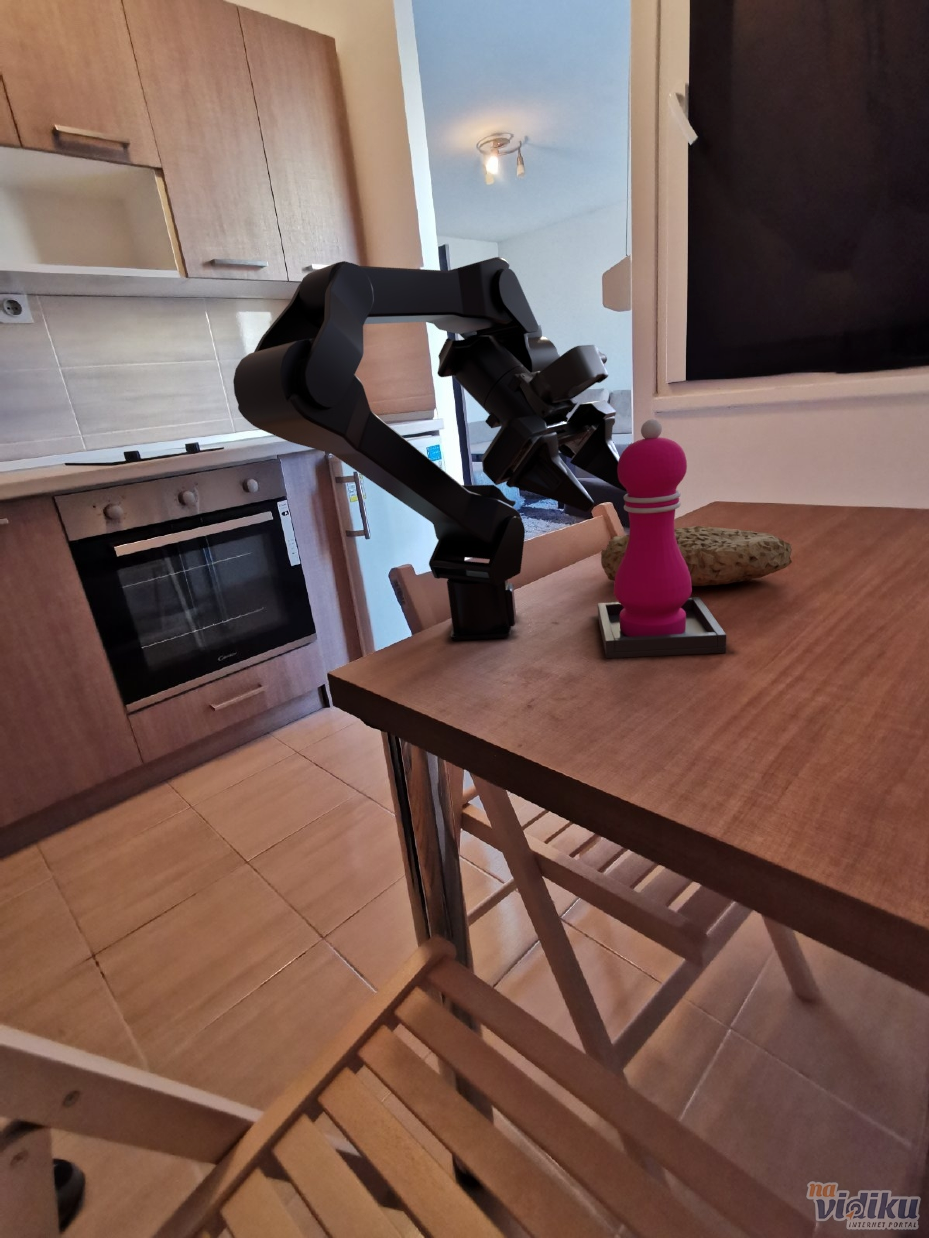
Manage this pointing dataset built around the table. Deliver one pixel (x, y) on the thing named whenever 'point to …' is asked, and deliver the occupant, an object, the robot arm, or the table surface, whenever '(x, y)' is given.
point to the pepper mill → (652, 537)
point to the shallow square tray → (696, 638)
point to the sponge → (715, 554)
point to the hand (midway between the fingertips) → (611, 497)
